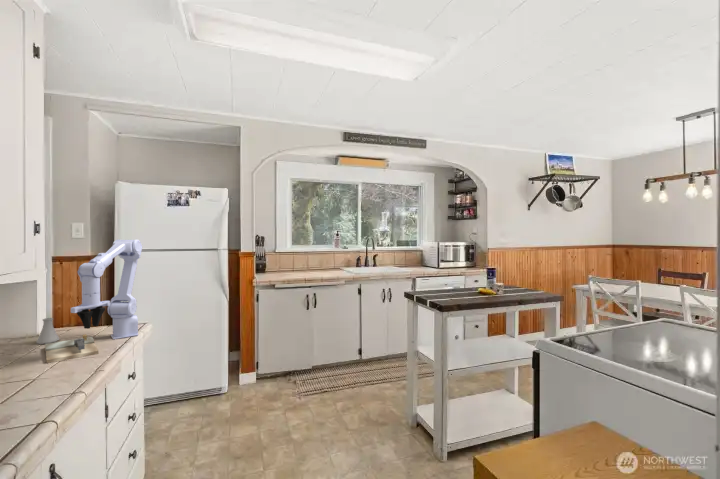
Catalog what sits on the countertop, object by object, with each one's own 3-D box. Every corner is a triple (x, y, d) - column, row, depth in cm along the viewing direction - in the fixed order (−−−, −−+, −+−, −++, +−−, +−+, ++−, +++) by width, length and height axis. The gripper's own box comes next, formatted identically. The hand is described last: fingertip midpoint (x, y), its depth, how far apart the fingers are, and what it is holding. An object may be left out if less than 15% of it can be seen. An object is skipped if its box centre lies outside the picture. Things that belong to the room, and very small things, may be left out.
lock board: (91, 340, 152) (91, 331, 151) (98, 353, 135) (98, 343, 135) (45, 348, 141) (45, 338, 141) (46, 363, 125) (46, 352, 125)
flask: (48, 344, 146) (48, 320, 145) (31, 344, 146) (31, 320, 146) (63, 339, 153) (63, 316, 153) (47, 339, 153) (47, 316, 153)
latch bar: (73, 343, 140) (73, 339, 140) (84, 341, 142) (83, 338, 142) (76, 350, 132) (76, 346, 132) (86, 348, 134) (86, 344, 134)
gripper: (99, 289, 146) (100, 321, 147) (64, 295, 132) (64, 331, 132) (113, 290, 145) (114, 322, 145) (79, 296, 131) (79, 332, 131)
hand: (91, 327), depth 139 cm, fingers open, 3 cm apart
